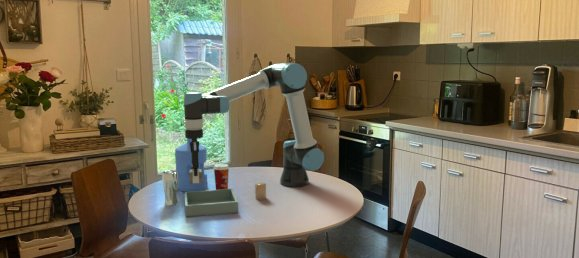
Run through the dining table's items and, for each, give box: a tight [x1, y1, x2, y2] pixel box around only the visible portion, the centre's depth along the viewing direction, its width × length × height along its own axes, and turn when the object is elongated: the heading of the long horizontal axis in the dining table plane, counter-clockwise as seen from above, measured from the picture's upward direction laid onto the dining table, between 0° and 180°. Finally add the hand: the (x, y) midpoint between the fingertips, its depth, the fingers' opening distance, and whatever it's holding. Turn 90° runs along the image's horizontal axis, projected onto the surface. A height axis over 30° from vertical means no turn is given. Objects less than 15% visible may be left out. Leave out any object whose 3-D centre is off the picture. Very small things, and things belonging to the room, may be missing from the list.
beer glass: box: [161, 169, 179, 207], centre depth 202 cm, size 7×7×15 cm
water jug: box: [174, 138, 209, 193], centre depth 226 cm, size 16×16×28 cm
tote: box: [184, 188, 239, 218], centre depth 198 cm, size 22×20×5 cm
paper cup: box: [212, 163, 230, 190], centre depth 218 cm, size 8×8×14 cm
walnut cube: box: [190, 169, 202, 184], centre depth 194 cm, size 5×5×5 cm
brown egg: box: [254, 182, 267, 201], centre depth 211 cm, size 5×5×7 cm
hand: (195, 181), depth 195 cm, fingers closed on walnut cube, 5 cm apart
